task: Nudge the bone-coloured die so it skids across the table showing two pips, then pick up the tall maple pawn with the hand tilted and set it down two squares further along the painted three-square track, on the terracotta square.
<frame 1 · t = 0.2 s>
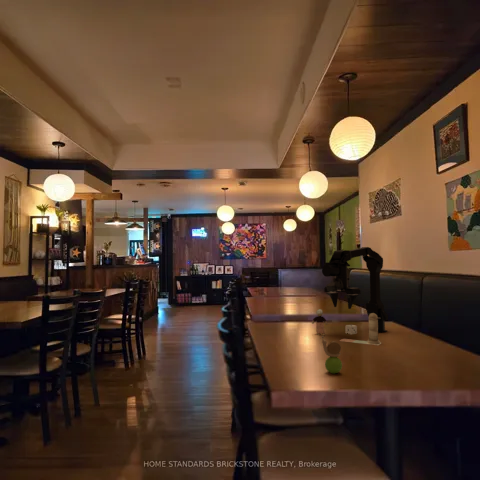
hand: (342, 308, 186), 14 cm above the table, tool pointing down, fingers open, 9 cm apart
grandmother figurine: (319, 335, 191), on the table
die: (351, 333, 195), on the table
snail figurine: (332, 373, 125), on the table
pawn: (373, 343, 169), resting on board
board: (360, 342, 172), on the table
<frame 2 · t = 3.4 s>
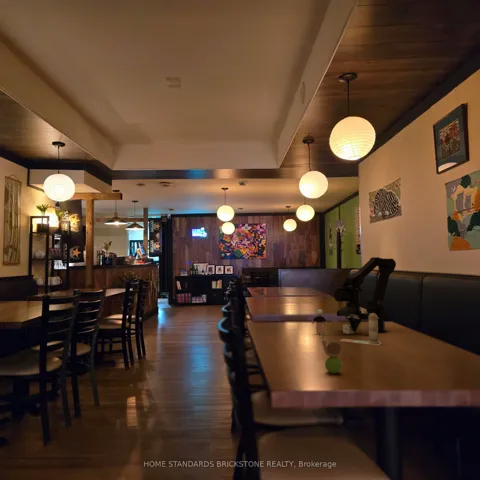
hand: (354, 331, 193), 1 cm above the table, tool pointing down, fingers closed
die: (348, 332, 196), on the table, touching gripper
everything else where it was.
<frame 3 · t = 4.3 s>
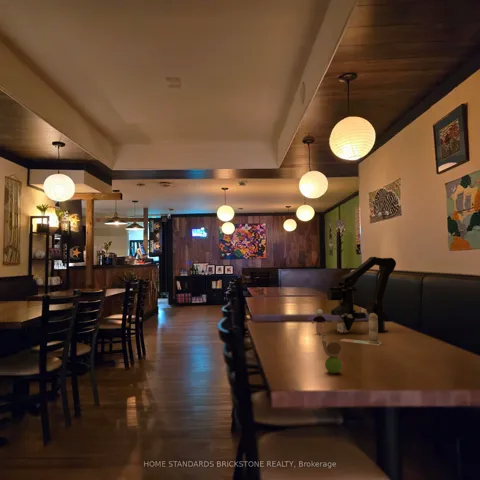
hand: (348, 330, 196), 1 cm above the table, tool pointing down, fingers closed
die: (342, 331, 200), on the table, touching gripper
everything else where it was.
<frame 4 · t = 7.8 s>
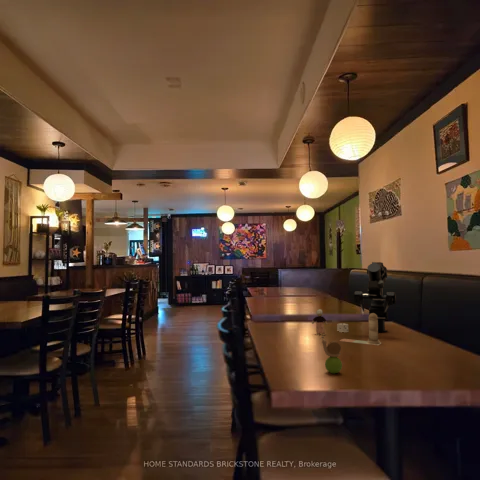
hand: (373, 311, 177), 13 cm above the table, tool tilted 45°, fingers open, 9 cm apart
die: (342, 331, 200), on the table
everything else where it was.
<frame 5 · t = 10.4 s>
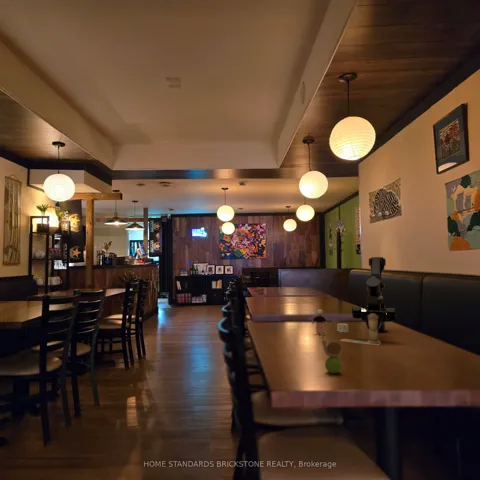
hand: (373, 328, 168), 7 cm above the table, tool tilted 45°, fingers closed on pawn, 4 cm apart
pawn: (373, 343, 169), resting on board, touching gripper
everything else where it was.
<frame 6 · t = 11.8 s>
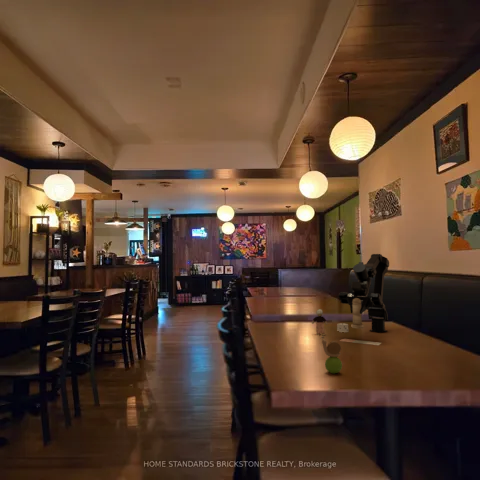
hand: (355, 313, 171), 13 cm above the table, tool tilted 45°, fingers closed on pawn, 4 cm apart
pawn: (357, 327, 172), point 7 cm above the table, touching gripper
everything else where it was.
when the fingers open (8 cm above the table, at t = 13.5 s): pawn stays where it is, resting on board.
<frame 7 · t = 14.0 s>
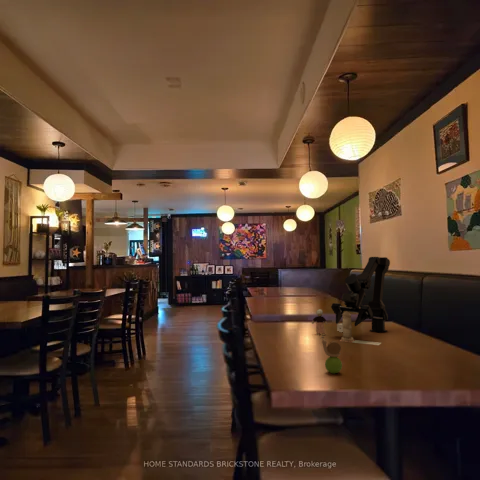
hand: (345, 324, 174), 8 cm above the table, tool tilted 45°, fingers open, 9 cm apart
pawn: (347, 340, 175), point 1 cm above the table, touching board
everything else where it was.
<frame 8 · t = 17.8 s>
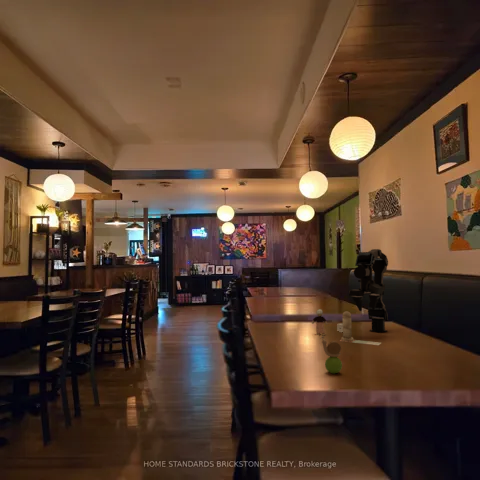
hand: (367, 310, 184), 13 cm above the table, tool pointing down, fingers open, 9 cm apart
nothing on the table moved.
at the end: pawn 0.0 cm from the target spot, point 0.5 cm above the table; pawn tilted 0°; the gripper is holding nothing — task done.
